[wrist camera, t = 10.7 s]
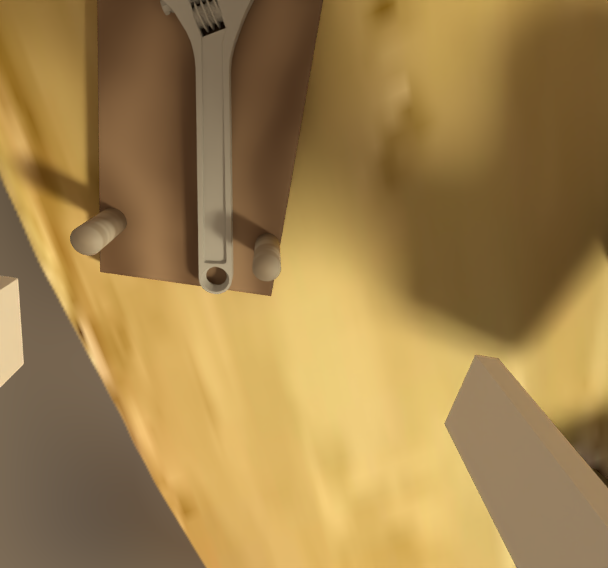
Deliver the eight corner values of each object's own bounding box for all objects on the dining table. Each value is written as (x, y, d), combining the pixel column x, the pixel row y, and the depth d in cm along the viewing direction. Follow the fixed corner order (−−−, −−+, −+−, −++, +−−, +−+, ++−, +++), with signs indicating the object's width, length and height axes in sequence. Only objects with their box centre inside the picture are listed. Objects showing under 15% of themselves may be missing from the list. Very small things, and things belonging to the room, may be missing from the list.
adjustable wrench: (234, 287, 35) (232, 297, 33) (156, 278, 34) (150, 288, 32) (270, -85, 25) (270, -98, 23) (161, -110, 24) (152, -125, 22)
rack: (337, -94, 26) (356, -152, 20) (271, 288, 36) (270, 325, 30) (105, -159, 24) (50, -245, 18) (107, 265, 34) (72, 299, 29)
